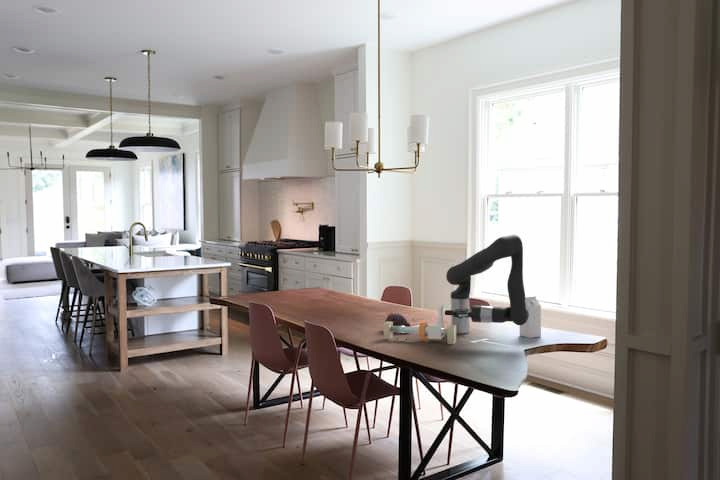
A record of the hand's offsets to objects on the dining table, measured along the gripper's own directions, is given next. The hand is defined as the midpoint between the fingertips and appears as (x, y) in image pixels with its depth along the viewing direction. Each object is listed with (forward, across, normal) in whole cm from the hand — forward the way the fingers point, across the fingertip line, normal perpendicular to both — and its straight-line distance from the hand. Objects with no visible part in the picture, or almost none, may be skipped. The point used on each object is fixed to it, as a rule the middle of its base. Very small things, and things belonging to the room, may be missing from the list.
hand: (445, 312), depth 267 cm
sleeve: (+4, 0, +12) cm, 13 cm away
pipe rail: (+12, 0, +14) cm, 19 cm away
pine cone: (+29, -18, +14) cm, 37 cm away
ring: (+10, 0, +13) cm, 17 cm away
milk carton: (-36, -24, +14) cm, 46 cm away
